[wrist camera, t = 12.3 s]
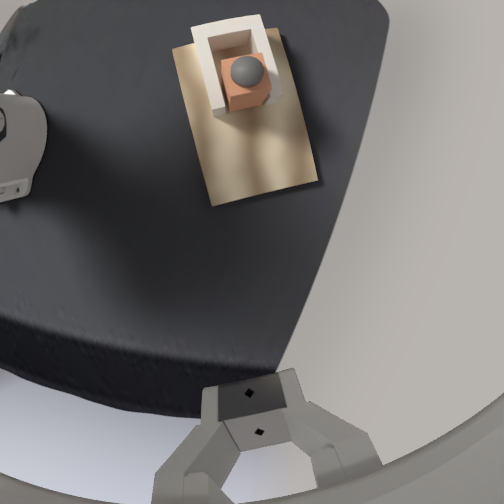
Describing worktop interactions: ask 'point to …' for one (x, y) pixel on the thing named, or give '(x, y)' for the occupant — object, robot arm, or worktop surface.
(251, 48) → the socket
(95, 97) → the worktop surface
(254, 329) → the worktop surface
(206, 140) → the base board
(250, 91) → the plug
